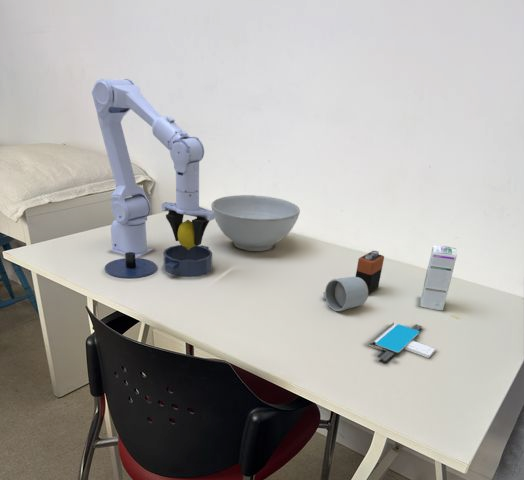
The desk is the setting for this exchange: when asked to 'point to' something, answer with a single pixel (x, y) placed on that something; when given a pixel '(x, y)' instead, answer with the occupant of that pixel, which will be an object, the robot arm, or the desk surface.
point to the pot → (182, 268)
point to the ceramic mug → (346, 293)
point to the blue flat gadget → (399, 342)
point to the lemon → (186, 234)
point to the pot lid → (130, 267)
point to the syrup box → (438, 277)
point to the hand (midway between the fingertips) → (188, 242)
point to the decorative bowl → (254, 220)
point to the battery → (370, 269)
